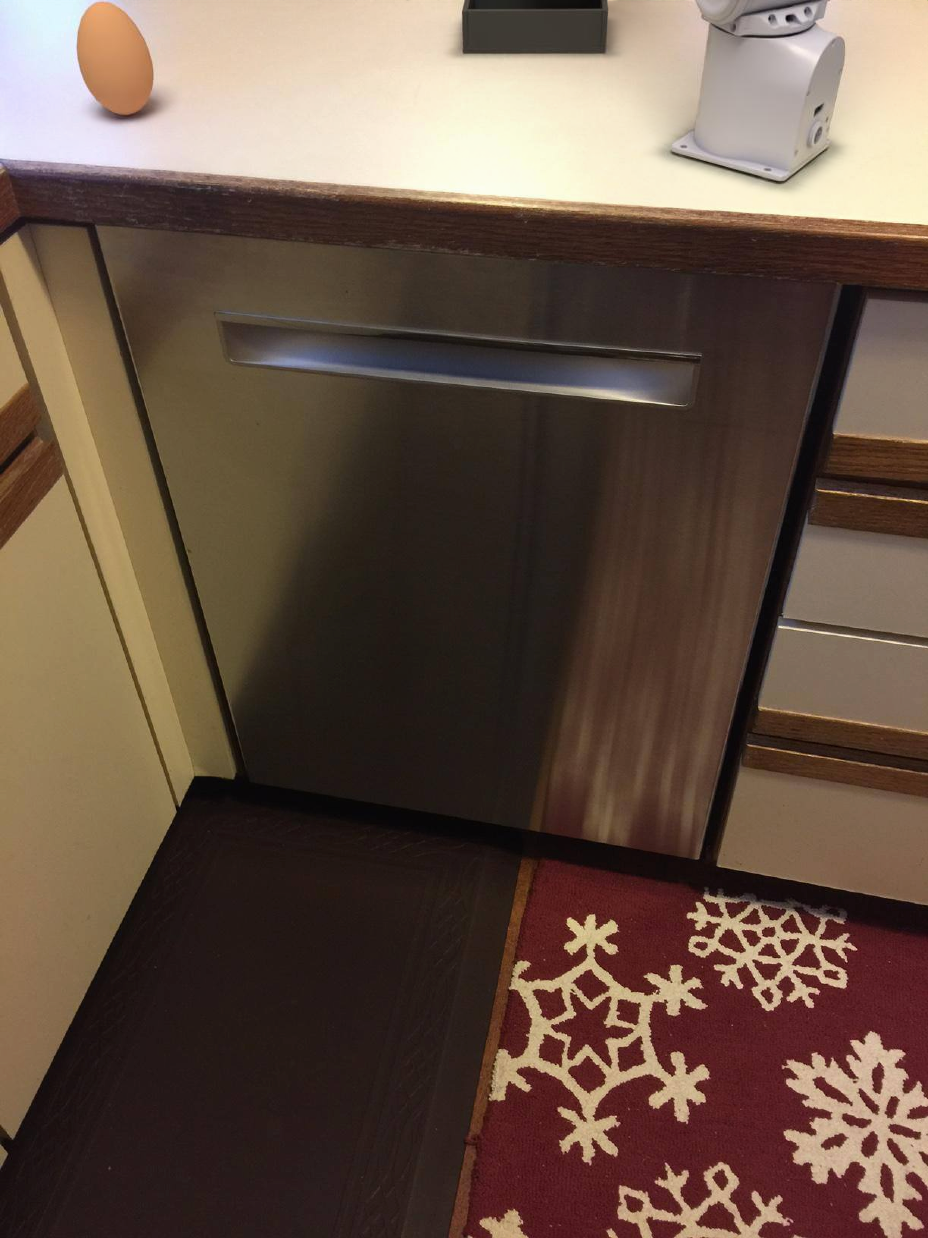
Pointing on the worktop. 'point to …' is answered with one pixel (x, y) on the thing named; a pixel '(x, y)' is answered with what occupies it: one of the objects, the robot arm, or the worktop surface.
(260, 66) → the worktop surface
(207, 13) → the worktop surface
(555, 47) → the bin
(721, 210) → the worktop surface
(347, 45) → the worktop surface
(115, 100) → the egg
